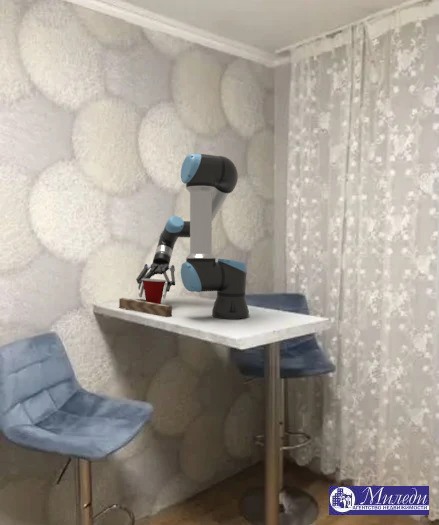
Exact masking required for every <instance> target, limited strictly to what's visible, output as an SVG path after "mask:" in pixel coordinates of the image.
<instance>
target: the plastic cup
mask: <svg viewBox="0 0 439 525" xmlns="http://www.w3.org/2000/svg"><path fill="white" fill-rule="evenodd" d="M142 281H143V286H144V290H143V292H144V297H145V300H146V302H151V303H156V304H162V299H163V291H164V287H165V283H167V280H166V279H160V278H150V279H142Z"/></svg>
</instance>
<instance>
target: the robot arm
mask: <svg viewBox="0 0 439 525" xmlns="http://www.w3.org/2000/svg"><path fill="white" fill-rule="evenodd" d="M238 176H239V174H238V169H237V166H235V163H234V162H233V161H232V160H231V159H229V158H228V157H226V156H222V155H212V154H205V153H189V154H188V155H187V156H186V157H185V158H184V160H183V162H182V164H181V169H180V179H181V182H182V183H183V184H185V189H186V190H187V192H189V220H183V218H182V217H179V216H177V215H172V216H170V217H169V218H168V220H167V221H166V223H165V225H164V228H163V230H162V231H161V232H160V235H159V240H158V243H157V246H156V249H155V253H154V256H153V259H152V263H151V264H147V263H145V264H144V267H143V269H142V270H141V272H140V273H139V274H138V276H137V277H136V282H137V284H138V296H139V298H142V296H143V293H144V286H143V281H142V279H152V277H154V276H155V275H163V277H164V280H167V281H166V282H165V285H164V289H163V294H162V299H166V297H167V292H170V289H171V286H175V285H176V280H175V278H176V277H175V272H176V266H175V265H174V264H172V265H171V266H170V263H171V258H172V255H173V252H174V251H173V250H174V247H175V245H176V243H177V240H178V238H189V254H188V255H187V256H186V257H185V261H184V262H183V263H182V264H181V268H180V278H181V281H182V285H183V286H184V288H185V289H186V290H187V291H188V292H192V293H200V292H203V293H204V292H216V298H215V302H214V304H213V308H212V310H211V311H212V312H211V316H212V317H215V318H219V319H227V320H241V319H240V318H243V319H247V318H249V317H250V311H249V307H248V306H249V305H248V302H247V300H246V288H247V266H246V265H247V264H246V263H245V262H243V261H239V260H233V259H225V258H218V259H217V261H216V256H214V255H213V252H212V250H213V245H212V244H213V243H212V242H213V241H212V240H213V239H212V238H213V234H212V232H213V231H212V230H213V224H212V223H213V221H214V219H215V218H216V216H217V214H218V212H219V211H220V209H221V207H222V206H223V204H224V202H225V201H226V199H227V197H228V195H229V194H231V193H232V192H234V190H235V188H236V186H237V183H238V178H239V177H238ZM167 271H170V275H171V276H170V277H171V280H170V278H169V276H168V274H167Z"/></svg>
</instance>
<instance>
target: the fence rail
mask: <svg viewBox="0 0 439 525" xmlns="http://www.w3.org/2000/svg"><path fill="white" fill-rule="evenodd" d="M118 302H119V304H118V306H119V308H120V309H125V310H130V311H134V312H139V313H143V314H144V313H145V314H149V315H153V316H158V317H165V318H169V317H172V316H173V306H172V305H168V304H162V303H161V304H156V303H151V302H146V298H145V299H144V298H138V299H137V298H136V299H133V298H127V297H121V298H119V300H118Z"/></svg>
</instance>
